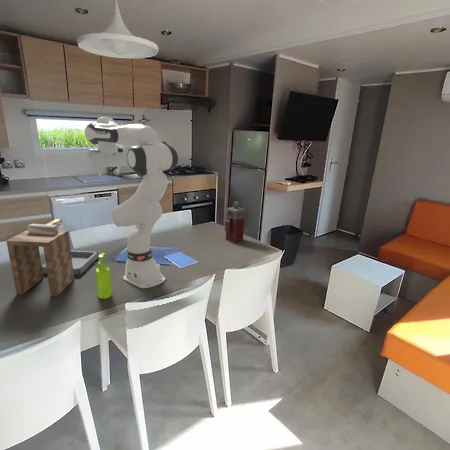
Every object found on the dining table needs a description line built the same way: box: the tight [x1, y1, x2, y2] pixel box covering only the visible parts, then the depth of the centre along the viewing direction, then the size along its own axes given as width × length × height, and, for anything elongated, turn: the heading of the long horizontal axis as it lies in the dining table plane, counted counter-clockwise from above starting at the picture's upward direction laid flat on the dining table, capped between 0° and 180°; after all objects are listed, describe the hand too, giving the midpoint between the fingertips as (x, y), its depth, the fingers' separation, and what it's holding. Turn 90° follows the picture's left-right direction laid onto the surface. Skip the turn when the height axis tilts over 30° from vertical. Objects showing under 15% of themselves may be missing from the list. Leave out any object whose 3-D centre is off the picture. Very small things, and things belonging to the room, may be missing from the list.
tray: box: [41, 249, 99, 277], centre depth 164 cm, size 22×20×4 cm
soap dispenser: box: [95, 252, 113, 300], centre depth 135 cm, size 6×7×20 cm
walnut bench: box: [5, 229, 75, 297], centre depth 139 cm, size 16×18×26 cm
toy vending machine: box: [224, 201, 246, 244], centre depth 208 cm, size 9×11×28 cm
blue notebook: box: [164, 251, 199, 269], centre depth 178 cm, size 19×13×1 cm, turn 42°
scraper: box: [27, 218, 63, 234], centre depth 143 cm, size 15×12×4 cm
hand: (109, 175), depth 164 cm, fingers open, 8 cm apart
